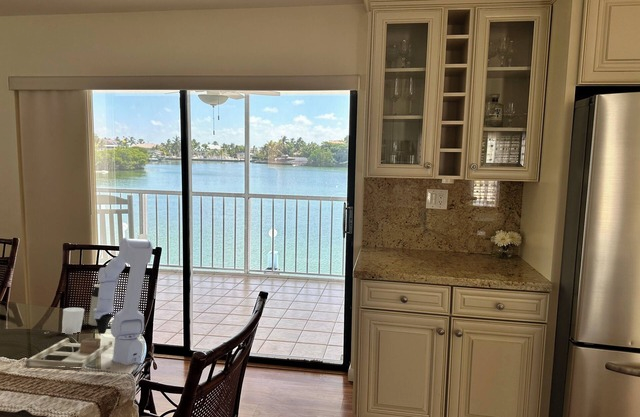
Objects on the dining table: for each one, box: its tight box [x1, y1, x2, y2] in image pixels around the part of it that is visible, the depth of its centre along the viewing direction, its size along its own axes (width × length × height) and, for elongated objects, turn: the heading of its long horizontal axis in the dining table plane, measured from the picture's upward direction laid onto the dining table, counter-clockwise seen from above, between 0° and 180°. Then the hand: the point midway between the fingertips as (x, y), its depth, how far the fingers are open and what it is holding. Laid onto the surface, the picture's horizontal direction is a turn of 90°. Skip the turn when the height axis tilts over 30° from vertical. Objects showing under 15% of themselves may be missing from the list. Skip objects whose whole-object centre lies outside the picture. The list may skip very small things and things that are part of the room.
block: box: [79, 337, 101, 353], centre depth 159 cm, size 5×5×4 cm
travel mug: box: [88, 283, 100, 327], centre depth 201 cm, size 8×8×18 cm
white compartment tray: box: [25, 337, 113, 368], centre depth 153 cm, size 27×17×3 cm, turn 6°
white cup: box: [61, 307, 85, 335], centre depth 183 cm, size 8×8×10 cm
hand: (101, 333), depth 169 cm, fingers closed
